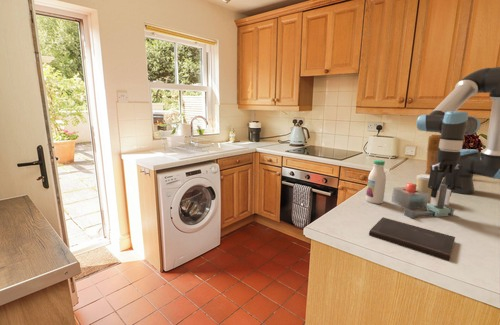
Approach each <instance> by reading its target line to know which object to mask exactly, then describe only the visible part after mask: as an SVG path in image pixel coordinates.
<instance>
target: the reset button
mask: <svg viewBox="0 0 500 325" xmlns="http://www.w3.org/2000/svg"><path fill="white" fill-rule="evenodd" d="M416 186H417V185H416V183H413V182H412V183H411V182H406V185H405V187H406V191H408V192H410V193H412V192H416Z"/></svg>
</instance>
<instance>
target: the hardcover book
mask: <svg viewBox="0 0 500 325" xmlns="http://www.w3.org/2000/svg"><path fill="white" fill-rule="evenodd" d="M368 235H369V236H371V237H374V238H377V239H380V240H382V241H386V242H389V243H392V244H395V245H398V246H401V247H405V248H408V249H411V250H414V251H417V252H420V253H422V254H426V255H429V256H432V257H435V258H438V259H442V260H444V261H447V262H450V259H451V255H452V251H453V248H454V243H455V240H456V237H455V236H453V235H449V234H447V233H446V234H445V233H442V232H438V231H436V230H435V231H434V230H431V229H427V228H423V227H420V226H416V225H412V224H410V223H405V222H401V221H397V220H394V219H390V218H387V217H382V218H381V219H379V220H378V222H377V223H376V224H374V226H372V228H370V229H369V231H368Z"/></svg>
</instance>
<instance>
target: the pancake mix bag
mask: <svg viewBox="0 0 500 325" xmlns="http://www.w3.org/2000/svg"><path fill="white" fill-rule="evenodd" d="M440 137H441V134H431V135H428V139H427V148H426V171H425V174H427V175H430V172H431V168H430V166H431V165H436V164H437V162H438V158H437V153H438V150H439V149H440V148H439V143H440ZM465 138H466V137H465V136H464V138H463V145H462V147H463V146H464V142H465ZM441 173H443V172H441ZM443 178H445V175H444V177H443Z"/></svg>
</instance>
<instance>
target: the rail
mask: <svg viewBox="0 0 500 325" xmlns="http://www.w3.org/2000/svg"><path fill="white" fill-rule="evenodd" d="M444 207H446V208H449V209H451V212H450V213H448V216H452V217H453V216H454V212H455V208H452V207H450V206H449V205H444ZM403 216H405V217H407V218H408V219H411V220H414V219H415V218H427V217H436V216H435V212H433V211H428V210H426V211H425V210H421V211H415V210H413V209H408V208H404V214H403Z"/></svg>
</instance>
